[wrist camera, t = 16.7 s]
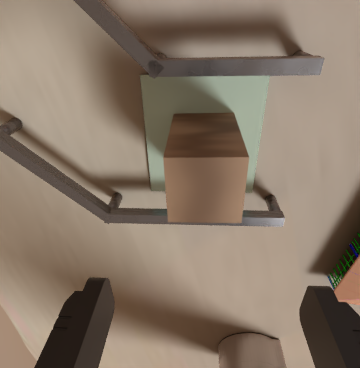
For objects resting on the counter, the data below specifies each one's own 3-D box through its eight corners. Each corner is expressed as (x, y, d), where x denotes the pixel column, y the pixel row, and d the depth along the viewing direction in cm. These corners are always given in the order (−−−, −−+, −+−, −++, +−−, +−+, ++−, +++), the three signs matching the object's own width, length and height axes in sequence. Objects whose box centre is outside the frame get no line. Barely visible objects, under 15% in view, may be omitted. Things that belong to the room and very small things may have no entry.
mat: (269, 73, 21) (269, 73, 20) (251, 190, 27) (252, 192, 26) (140, 74, 21) (139, 75, 21) (151, 189, 27) (151, 191, 27)
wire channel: (341, -109, 15) (375, -137, 12) (274, 204, 27) (283, 227, 24) (-176, -82, 17) (-254, -100, 14) (-24, 199, 29) (-49, 220, 26)
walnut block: (233, 112, 22) (249, 157, 15) (229, 165, 25) (241, 223, 18) (173, 113, 22) (163, 157, 16) (176, 165, 25) (168, 222, 18)
